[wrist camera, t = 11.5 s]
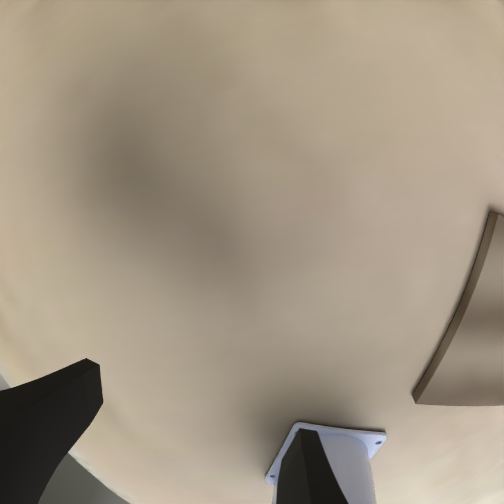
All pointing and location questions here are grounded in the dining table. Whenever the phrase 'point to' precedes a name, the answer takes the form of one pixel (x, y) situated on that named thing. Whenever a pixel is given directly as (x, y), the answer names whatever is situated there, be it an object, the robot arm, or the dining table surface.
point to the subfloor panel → (473, 335)
